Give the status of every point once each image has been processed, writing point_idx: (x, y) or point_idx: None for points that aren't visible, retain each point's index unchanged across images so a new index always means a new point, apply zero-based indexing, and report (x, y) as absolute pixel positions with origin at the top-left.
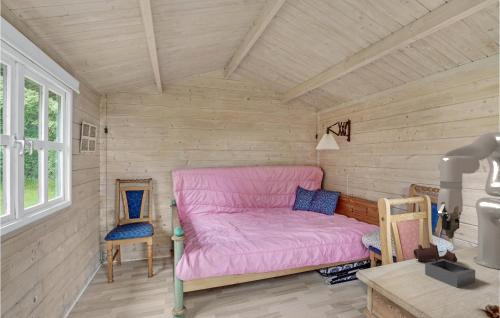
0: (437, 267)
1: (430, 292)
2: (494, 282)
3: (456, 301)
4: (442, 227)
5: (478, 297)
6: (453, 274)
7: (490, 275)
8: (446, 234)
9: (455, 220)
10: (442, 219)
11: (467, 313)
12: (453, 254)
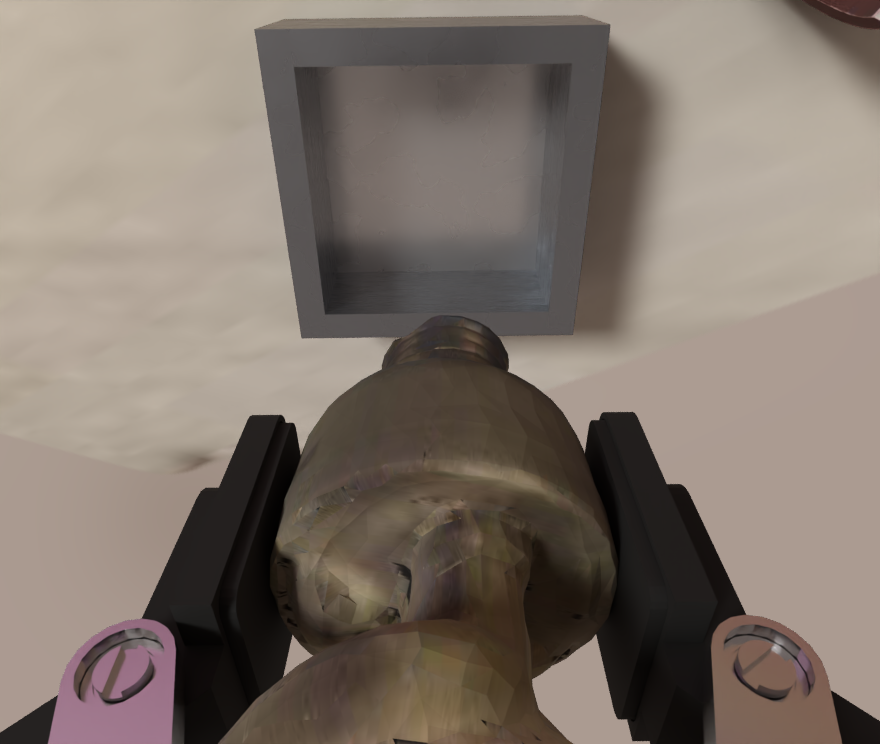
0: (285, 170)
1: (56, 258)
2: (678, 338)
3: (141, 381)
4: (251, 442)
5: (326, 401)
6: (297, 310)
7: (817, 268)
8: (384, 366)
9: (616, 658)
10: (124, 651)
11: (91, 457)
12: (872, 10)
